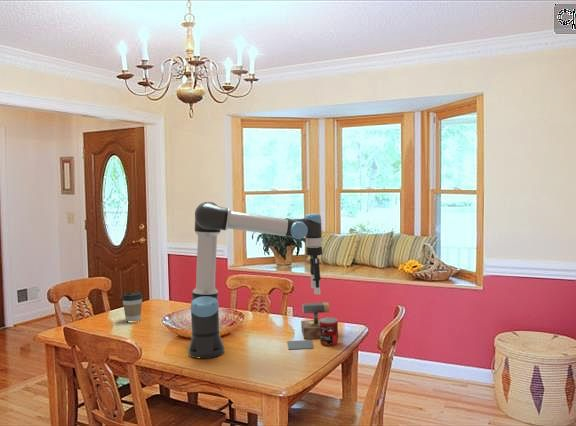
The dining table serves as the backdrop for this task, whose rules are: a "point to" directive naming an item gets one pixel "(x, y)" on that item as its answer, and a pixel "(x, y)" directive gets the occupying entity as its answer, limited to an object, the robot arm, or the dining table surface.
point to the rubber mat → (300, 345)
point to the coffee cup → (132, 305)
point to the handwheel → (315, 309)
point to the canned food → (328, 331)
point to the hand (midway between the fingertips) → (315, 291)
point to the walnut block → (310, 329)
